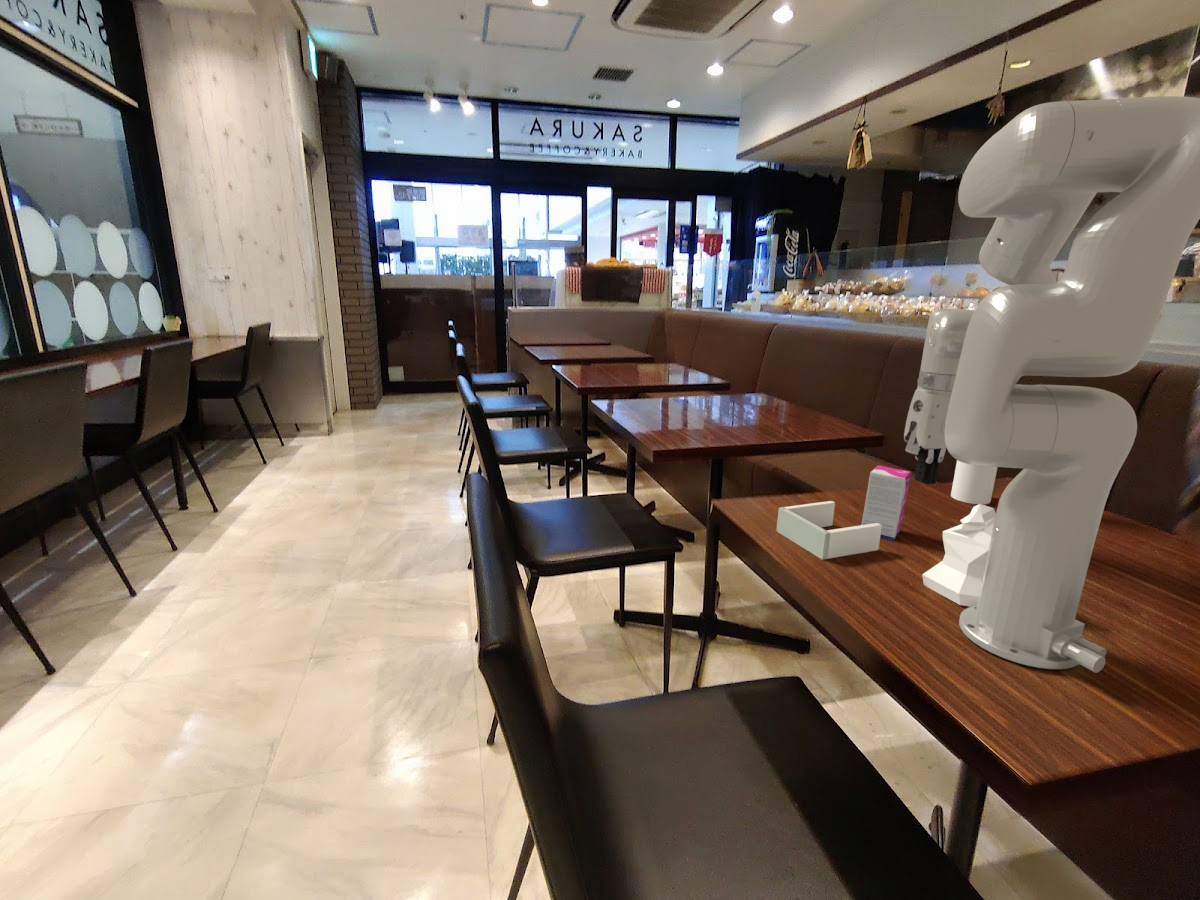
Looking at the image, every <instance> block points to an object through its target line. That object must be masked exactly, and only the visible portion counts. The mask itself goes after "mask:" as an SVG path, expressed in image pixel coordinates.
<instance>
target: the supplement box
mask: <svg viewBox="0 0 1200 900" xmlns="http://www.w3.org/2000/svg"><path fill="white" fill-rule="evenodd" d="M911 475H912V472H911V471H909V470H904V469H898V468H893V467H887V466H884V465H879V464H878V465H877V466H875V468H874V469H872V470H871V471H870V474H869V477H868V484H867V485H868V486H867V490H866V496H865V503H864V508H863V514H862V519H861V525H866V524H873V523H879V524H881V525H882V529H881V535H880V539H881V538H882V539H887V540H890V541H894V540H895V539H896V537H897V535H898V534H899V533H900V531H901V529H902V523H903V518H904V513H905V506H906V503H907V497H908V496H907V495H908V490H909V486H910V482H911V481H910V480H911Z"/></svg>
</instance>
